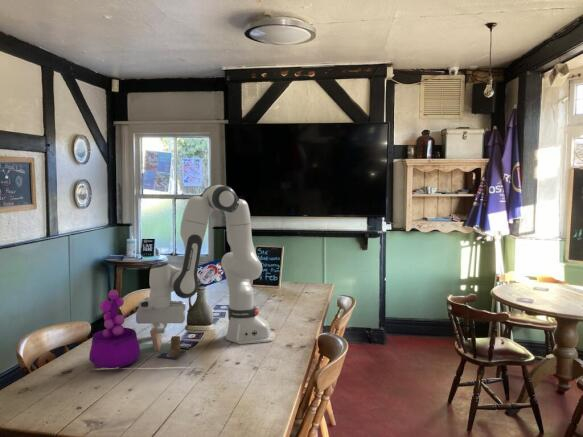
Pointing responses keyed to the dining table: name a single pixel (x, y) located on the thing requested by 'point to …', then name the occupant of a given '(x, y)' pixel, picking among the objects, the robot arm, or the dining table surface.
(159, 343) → the tile
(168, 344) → the mat
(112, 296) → the decorative plant
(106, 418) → the dining table surface
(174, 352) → the walnut block
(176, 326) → the dining table surface
